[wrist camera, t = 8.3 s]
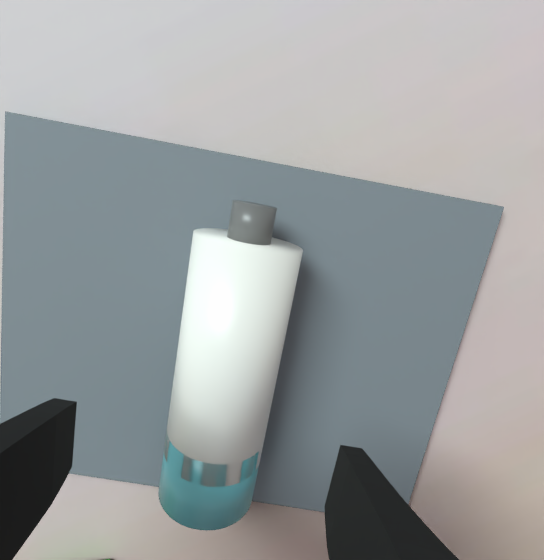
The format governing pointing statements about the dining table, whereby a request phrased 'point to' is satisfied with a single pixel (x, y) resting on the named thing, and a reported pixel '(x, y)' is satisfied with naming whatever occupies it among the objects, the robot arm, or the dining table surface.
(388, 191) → the mat
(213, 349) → the bottle
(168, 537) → the dining table surface
